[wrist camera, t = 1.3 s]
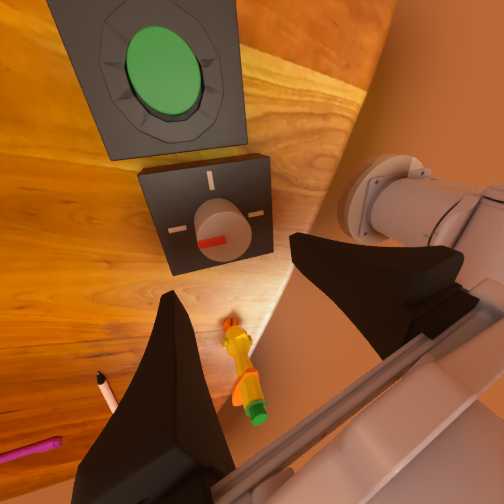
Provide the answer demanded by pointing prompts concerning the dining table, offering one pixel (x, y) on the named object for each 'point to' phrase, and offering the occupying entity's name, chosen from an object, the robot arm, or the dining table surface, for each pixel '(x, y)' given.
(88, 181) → the dining table surface
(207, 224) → the timer knob
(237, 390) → the toy figure
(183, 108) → the button
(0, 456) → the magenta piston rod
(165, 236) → the timer panel
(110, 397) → the pen
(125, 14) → the button block
